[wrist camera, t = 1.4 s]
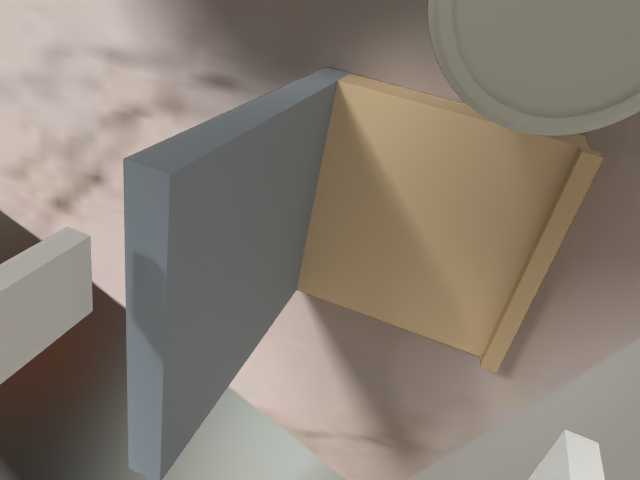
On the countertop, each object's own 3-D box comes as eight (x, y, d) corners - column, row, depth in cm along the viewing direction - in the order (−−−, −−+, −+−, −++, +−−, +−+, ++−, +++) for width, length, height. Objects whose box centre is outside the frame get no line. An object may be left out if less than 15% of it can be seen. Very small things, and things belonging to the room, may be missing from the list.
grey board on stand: (326, 66, 29) (123, 159, 14) (594, 138, 26) (701, 351, 11) (289, 264, 36) (128, 468, 21) (498, 338, 33) (483, 636, 18)
